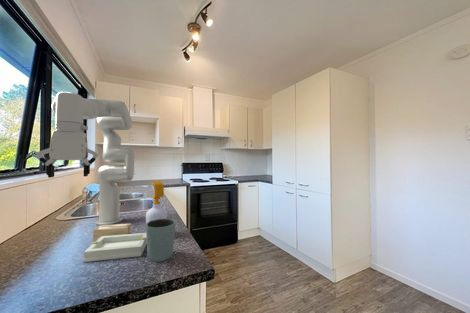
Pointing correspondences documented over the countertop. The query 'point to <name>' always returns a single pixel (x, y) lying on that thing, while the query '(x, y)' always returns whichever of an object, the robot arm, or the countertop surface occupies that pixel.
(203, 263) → the countertop surface
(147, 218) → the soap bottle
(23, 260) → the countertop surface
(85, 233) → the countertop surface
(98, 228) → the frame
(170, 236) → the teal embossed pot
